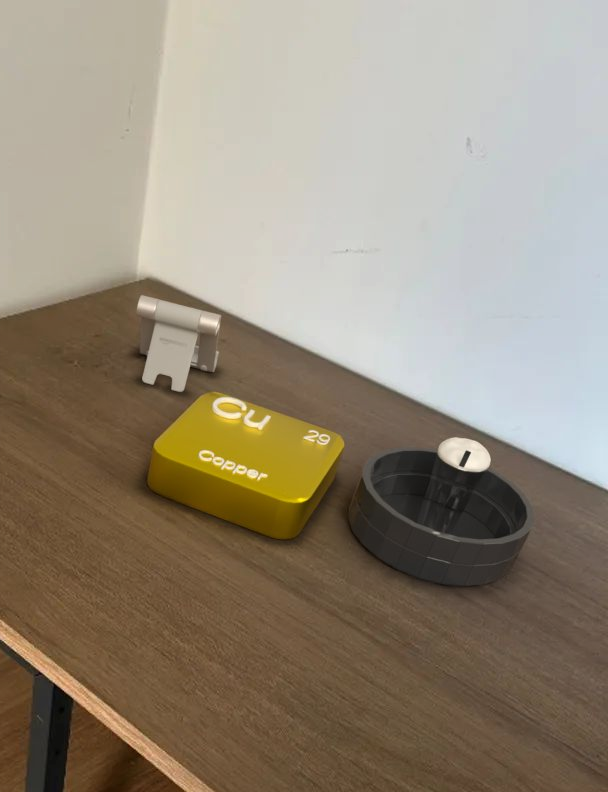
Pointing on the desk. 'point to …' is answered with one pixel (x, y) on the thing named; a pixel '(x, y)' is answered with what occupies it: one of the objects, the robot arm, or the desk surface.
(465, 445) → the milkshake
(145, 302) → the tablet stand
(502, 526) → the pan
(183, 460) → the element tile
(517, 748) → the desk surface
